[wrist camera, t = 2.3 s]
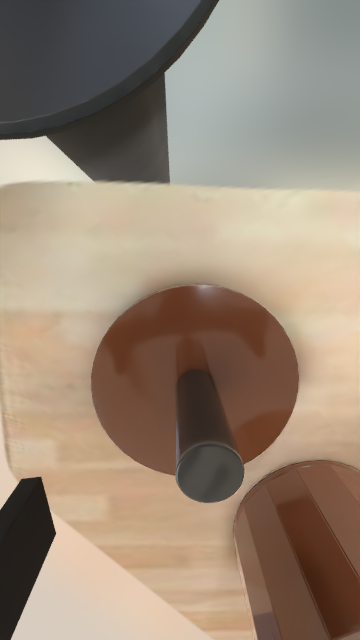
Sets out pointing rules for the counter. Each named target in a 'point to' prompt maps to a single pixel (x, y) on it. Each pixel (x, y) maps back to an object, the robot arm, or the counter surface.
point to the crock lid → (195, 385)
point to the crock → (302, 553)
